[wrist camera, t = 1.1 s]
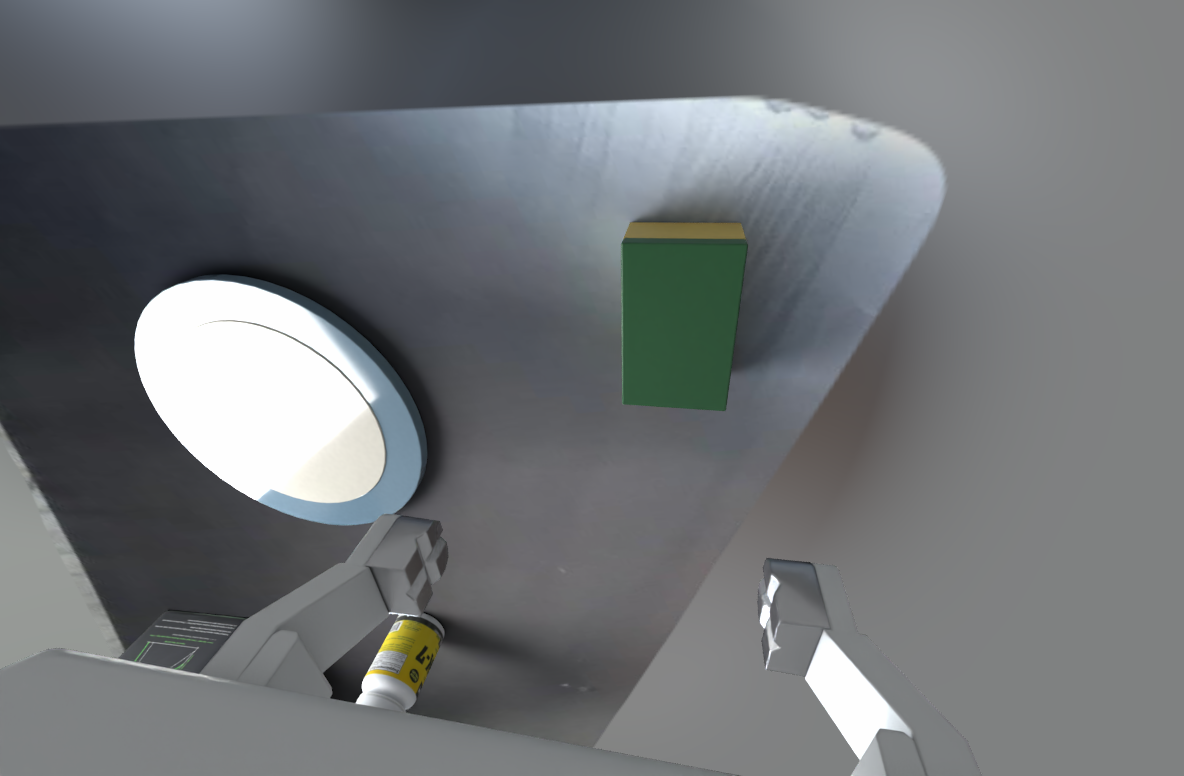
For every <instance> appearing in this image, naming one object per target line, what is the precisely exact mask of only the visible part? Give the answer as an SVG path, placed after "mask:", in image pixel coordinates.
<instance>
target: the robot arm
mask: <svg viewBox="0 0 1184 776" xmlns="http://www.w3.org/2000/svg"><path fill="white" fill-rule="evenodd" d="M442 531H443V529H442V526H441V523H440V521H436V520H429V519H422V518H415V517H408V516H401V515H393V514H385V513H384V514H383V515H381V516H380V517H378V518H377V520H376V521H375V522H374V524H373V525H372V527H371V528H370V529H369V531H368V532H367V533H366V535H365V536H364V538H363V539H362V540H361V542H360V543H359V544H358V546H357V547H356V549H355V550H354V551H353V553H352V554H351V555H350V557H349V558H348V560H347V561H346V562H345V564H344V563H339V564H337V565H335V566H334V567H332V568H330V569H329V570H327V571H325V572H324V573H322V574H320V575H319V576H317V577H315V578H314V579H312V580H310V581H309V582H307V583H306V584H304V585H302V586H301V587H299V588H297V589H296V590H294V591H292V592H291V593H289V594H287V595H286V596H284V597H282V598H281V599H279V600H277V601H276V602H274V603H272V604H271V605H269V606H267V607H266V608H264V609H263V610H261V611H259V612H258V613H256V614H254V615H253V616H251V617H249V618H248V619H246V620H244V621H243V622H242V623H241V624H240V626H239V627H238V628H237V629H236V630H235V632H234V633H233V634H232V635H231V636H230V638H229V639H228V640H227V641H226V642H225V644H224V645H223V646H222V647H221V648H220V649H219V651H218V652H217V653H216V654H215V655H214V657H213V658H212V659H211V660H210V661H209V663H208V664H207V665H206V666H205V667H204V669H203V670H202V671H201V672H200V673H199V674H197V673H192V672H186V671H181V670H176V669H170V668H165V667H160V666H155V665H149V664H144V663H139V662H133V661H128V660H123V659H118V658H111V657H107V656H102V655H96V654H91V653H86V652H81V651H76V650H71V649H63V648H54V649H48V650H44V651H40V652H38V653H35V654H33V655H31V656H28V657H26V658H24V659H21V660H19V661H17V662H15V663H12V664H10V665H8V666H6V667H4V668H2V669H0V776H739V775H734V774H729V773H723V772H718V771H713V770H708V769H702V768H697V767H692V766H686V765H681V764H676V763H670V762H665V761H660V760H654V759H649V758H644V757H639V756H633V755H628V754H623V753H617V752H612V751H607V750H602V749H596V748H591V747H586V746H580V745H575V744H570V743H564V742H559V741H554V740H548V739H543V738H538V737H533V736H527V735H522V734H517V733H511V732H506V731H501V730H495V729H490V728H485V727H479V726H474V725H469V724H463V723H458V722H453V721H447V720H442V719H437V718H431V717H426V716H421V715H416V714H410V713H405V712H400V711H394V710H389V709H384V708H378V707H373V706H368V705H362V704H357V703H352V702H346V701H341V700H336V699H330V697H331V695H332V694H333V693H332V687H331V686H330V684H329V682H328V681H327V679H326V678H325V676H324V674H323V672H324V671H326V670H327V669H328V668H329V667H330V666H331V665H333V664H334V663H335V662H336V661H337V660H338V659H340V658H341V657H342V656H343V655H344V654H345V653H346V652H348V651H349V650H350V649H351V648H352V647H353V646H355V645H356V644H357V643H358V642H359V641H360V640H362V639H363V638H364V637H365V636H366V635H367V634H369V633H370V632H371V631H372V630H373V629H374V628H376V627H377V626H378V625H379V624H380V623H381V622H383V621H384V620H385V619H386V618H387V617H388V616H389V613H390V614H398V615H406V616H414V617H421V616H422V614H423V612H424V610H425V608H426V606H427V604H428V602H429V600H430V598H431V596H432V594H433V592H432V587H431V585H432V584H434V583H435V582H436V581H438V580H439V579H441V577H442V575H443V573H444V570H445V568H446V564H447V560H448V546H447V543H446V541H445V540H444V539H443V538H442V537H440V535H441V533H442ZM763 572H764V578H763V579H762V580H760V583H759V589H758V601H757V602H758V616H759V622H760V623H761V625H762V626H763V627H764V633H763V637H762V647H763V655H764V663H765V669H766V670H770V671H776V672H781V673H787V674H793V675H799V676H804V677H805V679H806V681H807V682H808V684H809V685H810V687H811V688H812V690H813V691H814V693H815V694H816V696H817V697H818V699H819V700H820V702H821V703H822V705H823V706H824V708H825V709H826V711H827V712H828V713H829V715H830V717H831V718H832V719H833V721H834V722H835V724H836V725H837V727H838V728H839V730H840V731H841V733H842V734H843V736H844V737H845V739H846V740H847V742H848V743H849V745H850V746H851V748H852V749H853V751H854V752H855V753H856V755H857V757H858V758H859V760H860V761H859V763H858V765H857V766H856V768H855V770H854V772H853V773H852V775H851V776H982V774H981V772H980V769H979V767H978V765H977V762H976V760H975V758H974V755H973V753H972V750H971V748H970V746H969V743H968V741H967V740H966V739H965V738H964V737H963V736H962V735H961V734H960V733H959V732H958V730H956V728H955V727H954V726H953V725H952V724H951V723H950V722H949V721H948V720H947V719H946V718H945V717H944V716H943V715H942V714H941V713H940V712H939V711H938V710H937V709H936V707H935V706H934V705H933V704H932V703H931V702H930V701H929V700H928V699H927V698H926V697H925V696H924V695H923V694H922V693H921V692H920V691H919V690H918V689H917V688H916V687H915V685H914V684H913V683H911V681H910V680H909V679H908V678H907V677H906V676H905V675H904V674H903V673H902V672H901V671H900V670H899V669H898V668H897V667H896V666H895V665H894V664H893V663H892V661H891V660H890V659H889V658H888V657H887V656H886V655H885V654H884V653H883V652H882V651H881V650H880V649H879V648H878V647H877V646H876V645H875V644H874V643H873V642H872V640H871V639H869V637H868V636H867V635H865V634H859V633H858V630H857V627H856V623H855V620H854V617H853V614H852V611H851V608H850V604H849V601H848V597H847V594H846V591H845V588H844V585H843V581H842V578H841V575H840V572H839V569H838V568H837V567H836V566H832V565H824V564H815V563H810V562H801V561H791V560H781V559H772V558H767V559H766V560H765V562H764V566H763Z"/></svg>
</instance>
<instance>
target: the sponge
mask: <svg viewBox="0 0 1184 776" xmlns="http://www.w3.org/2000/svg"><path fill="white" fill-rule="evenodd" d="M747 249H748V244H747V241H746V237H745V234H744V231H743V228H742V225H741V223H663V222H631V223H630V224H629V227H628V229H627V231H626V234H625V236H624V238H623V241H622V244H621V288H622V403H623V404H626V405H641V406H656V407H672V408H687V409H702V410H717V411H725V410H726V405H727V398H728V390H729V383H730V376H731V368H732V361H733V353H734V346H735V338H736V331H737V323H738V316H739V309H740V301H741V294H742V286H743V279H744V271H745V264H746V256H747Z"/></svg>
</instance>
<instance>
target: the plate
mask: <svg viewBox="0 0 1184 776" xmlns="http://www.w3.org/2000/svg"><path fill="white" fill-rule="evenodd" d="M135 356H136V362H137V367H138V370H139V373H140V377H141V380H142V383H143V385H144V387H145V389H146V392H147V394H148V396H149V398H150V400H151V401H152V403H153V405H154V407H155V408H156V410H157V412H158V413H159V415H160V416H161V418H162V419H163V421H164V422H165V423H166V425H167V426H168V427H169V429H170V430H171V431H172V432H173V434H174V435H175V436H176V437H177V438H178V440H179V441H180V442H181V443H182V444H183V445H184V446H185V447H186V448H187V449H188V450H189V451H190V452H191V453H192V454H193V455H194V456H195V457H196V458H197V459H198V460H199V461H201V462H202V463H203V464H204V465H205V466H206V467H207V468H209V469H210V470H211V471H212V472H214V473H215V474H216V475H217V476H219V477H220V478H221V479H223V480H224V481H226V482H227V483H229V484H230V485H232V486H233V487H234V488H236V489H238V490H239V491H241V492H243V493H244V494H246V495H248V496H249V497H251V498H253V499H255V500H257V501H259V502H261V503H263V504H265V505H267V506H269V507H271V508H274V509H276V510H278V511H281V512H283V513H286V514H289V515H292V516H295V517H298V518H301V519H305V520H309V521H313V522H319V523H325V524H332V525H360V524H366V523H372V522H375V521H376V520H377V518H378V517H380V516H381V515H383V514H384V513H385V514H394V513H395V512H397V511H398V510H399V509H401V508H402V507H403V506H404V505H405V504H406V503H407V502H408V501H409V500H410V499H411V497H412V496H413V494H414V493H415V491H416V490H417V488H418V486H419V485H420V483H421V481H422V479H423V475H424V472H425V469H426V462H427V440H426V435H425V430H424V425H423V422H422V420H421V417H420V414H419V411H418V408H417V406H416V404H415V402H414V400H413V398H412V396H411V394H410V392H409V391H408V389H407V388H406V386H405V384H404V383H403V381H402V380H401V378H400V377H399V375H398V374H397V373H396V371H395V370H394V369H393V368H392V366H391V365H390V364H389V363H388V361H387V360H386V359H385V357H384V356H383V355H382V354H381V353H380V352H379V351H378V350H377V349H376V348H375V347H374V346H373V345H372V344H371V343H370V342H369V341H368V340H367V339H366V338H365V337H363V336H362V335H361V334H360V333H359V332H358V331H356V330H355V329H354V328H353V327H352V326H351V325H349V324H348V323H347V322H345V321H344V320H342V319H341V318H340V317H338V316H337V315H335V314H334V313H333V312H331V311H330V310H328V309H326V308H325V307H323V306H321V305H319V304H318V303H316V302H314V301H313V300H311V299H309V298H307V297H305V296H303V295H301V294H298V293H296V292H294V291H292V290H290V289H288V288H285V287H282V286H279V285H276V284H273V283H270V282H267V281H263V280H259V279H255V278H250V277H246V276H236V275H226V274H222V275H205V276H201V277H196V278H192V279H188V280H186V281H183V282H181V283H178V284H176V285H174V286H171V287H169V288H167V289H165V290H163V291H162V292H160V293H159V294H158V295H157V296H155V297H154V298H153V299H152V300H151V301H150V302H149V303H148V305H147V306H146V307H145V308H144V310H143V312H142V314H141V316H140V318H139V320H138V323H137V328H136V333H135Z"/></svg>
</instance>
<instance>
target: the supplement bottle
mask: <svg viewBox="0 0 1184 776" xmlns="http://www.w3.org/2000/svg"><path fill="white" fill-rule="evenodd" d="M444 635H445V632H444V629H443V627H442V625H441V624H440V623H439V622H438V621H437V620H436V619H435V618H433V617H431V616H430V615H427V614H425V613H423V614H422V616H421V617H414V616H406V615H399V616H398V618H397V619H396V621H395V623H394V625H393V627H392V628H391V630H390V632H389V634H388V636H387V637H386V639H385V641H384V643H383V645H382V647H381V648H380V650H379V652H378V654H377V656H376V658H375V659H374V661H373V663H372V665H371V667H370V669H369V670H368V672H367V674H366V676H365V678H364V680H363V682H362V690H363V693H362V694H361V695H360V696H359V698H358V699H357V702H356V703H357V704H362V705H368V706H373V707H378V708H384V709H389V710H394V711H400V712H405V710H407V709H409V708H410V707H412V706H413V704H414V703H415V701H416V699H417V697H418V695H419V693H420V690H421V688H422V686H423V683H424V681H425V679H426V677H427V675H428V672H429V670H430V668H431V666H432V663H433V661H434V659H435V657H436V654H437V652H438V650H439V648H440V646H441V643H442V641H443V638H444Z"/></svg>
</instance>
